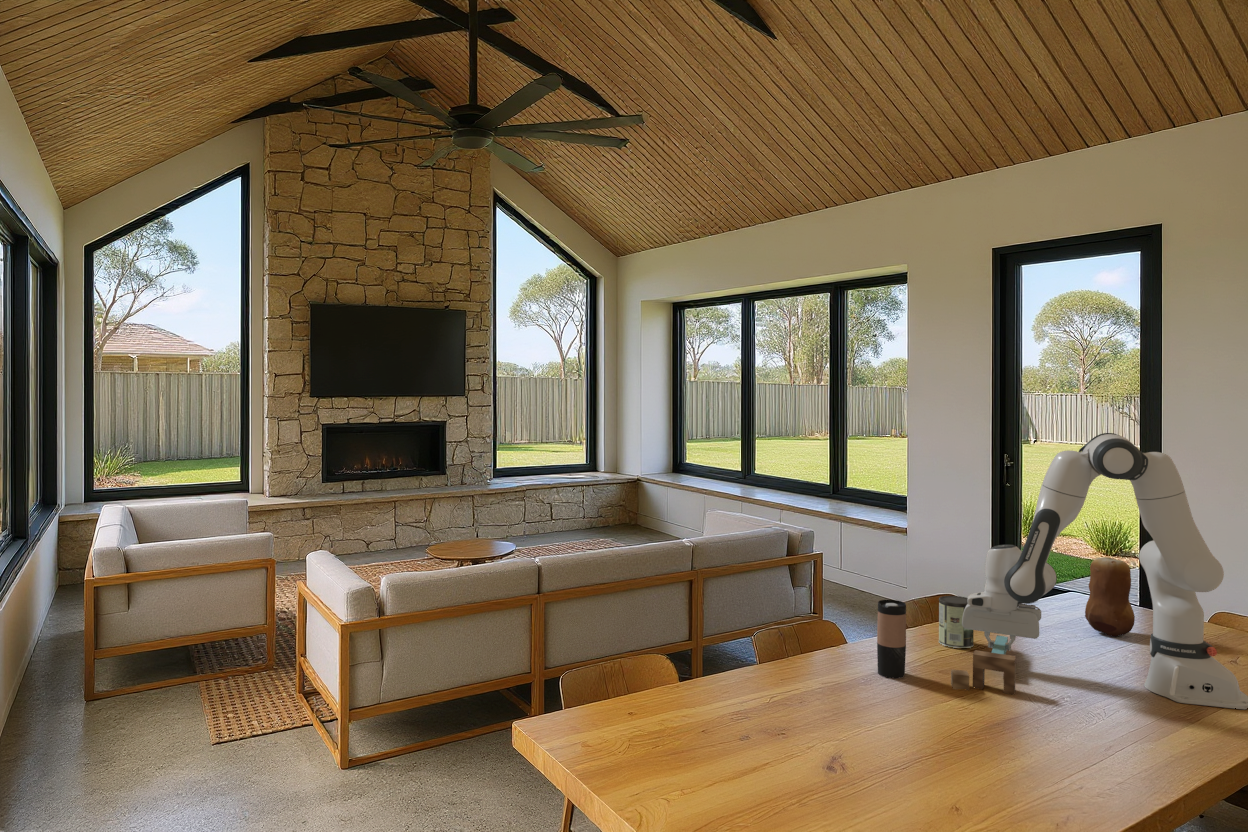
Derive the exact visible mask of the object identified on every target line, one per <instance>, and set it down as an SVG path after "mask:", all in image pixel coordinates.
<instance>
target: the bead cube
mask: <svg viewBox="0 0 1248 832" xmlns="http://www.w3.org/2000/svg"><path fill="white" fill-rule="evenodd" d="M969 674H970V673H969V671H968V670H963V669H950V685H951V687H953V688H952V690H958V689H966V690H965V691H970V675H969Z"/></svg>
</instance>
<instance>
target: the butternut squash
mask: <svg viewBox="0 0 1248 832" xmlns="http://www.w3.org/2000/svg"><path fill="white" fill-rule="evenodd" d="M1089 569H1090V570H1089V571H1090V572H1089V573H1090V577H1089V583H1088V589H1089V597H1088V600H1087V602H1086V604H1085V609H1084V614H1085V615H1084V617H1085V619H1086V620H1087V622H1088V624H1089V625H1090V627H1091V628H1092V629H1093V630H1095V631H1097V632H1100V633H1103V634H1104V635H1106V636H1107V637H1114V638H1117V637H1119V636H1125V635H1126V634H1128V633H1130V632H1131V631H1132V630H1133V627H1134V626H1135V618H1136V617H1135V613H1134V610H1133V606H1132V605H1131V601H1130V593H1131V589H1132V575H1131V574H1132V572H1131V568H1130V565H1129V564H1128V563H1127V562H1125V561H1123V560H1119V559H1117V558H1112V557H1109V556H1108V557H1106V556H1103V557H1096V558H1095V559H1093V560H1092V561H1091V564H1090V566H1089Z"/></svg>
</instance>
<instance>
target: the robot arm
mask: <svg viewBox="0 0 1248 832" xmlns="http://www.w3.org/2000/svg"><path fill="white" fill-rule="evenodd" d="M1100 476H1104V478H1109V479H1113V480H1122V481H1124V480H1125V481H1130V484H1131V486H1132V488H1133V491H1134V496H1135V500H1136V505H1137V508H1138V512H1139V514H1140V518H1141V519H1140V520H1141V522H1142V525H1143V527H1144V529H1145V530H1146V531H1147V532H1148V534H1149V535H1150V536H1151V538H1152V540H1149V541H1148V542H1147V543H1145V544H1144V545H1143V546H1142V547H1141V548H1140V551H1139V554H1138V560H1139V563H1140V565H1141V567H1142V569H1143V570H1144V572H1145V575H1146V580H1147V584H1148V587H1149V592H1150V593H1149V594H1150V599H1151V603H1152V633H1151V634H1150V639H1149V654H1150V662H1149V669H1148V673H1147V676H1146V680H1145V681H1144V684H1143V686H1144V688H1146V689H1147V690H1148V691H1150V692H1152V693H1154V694H1157V695H1159V696H1161V697H1162V696H1163V697H1164V698H1168V699H1170V700H1171V701H1174V702H1176V703H1181V704H1190V705H1198V706H1209V707H1217V708H1226V709H1235V708H1236V709H1237V710H1248V709H1247V708H1248V695H1247V694H1246V693H1245V692H1243V691H1241V690H1240V686H1239V682H1238V678H1237V677H1236V675H1235V674H1234V673H1233V672H1232V671H1231V670H1230V669H1228V668H1227V667H1226V666H1225V665H1223V664H1222V663H1221V662H1220V661H1218V660H1217V659H1216V658H1215V657H1216V656H1217V655H1218V650H1217V649H1216V648H1215V647H1214V646H1213V645H1212V644H1210V643H1209V642H1208V641H1206V640H1204V632H1205V631H1204V630H1205V627H1204V625H1205V613H1204V610H1203V607H1202V606H1201V604H1200V602H1199V600H1198V596H1197V594H1196V593H1209V592H1212V591H1214V590H1216V589H1217V588H1218V587H1219V586H1220V585H1222V582H1223V580H1224V577H1225V576H1224V574H1225V573H1224V572H1225V571H1224V567H1223V565H1222V564H1221V563H1220V561H1219V560H1218V559H1217V558H1216V557H1215V556H1214V555H1213V553H1212V552H1211V550H1210V548H1209V547H1208V545H1207V543H1206V541H1205V539H1204V538H1203V536H1202V534H1201V532H1200V530H1199V528H1198V527H1197V524H1196V522H1195V520H1194V517H1193V515H1192V512H1191V508H1190V504H1189V501H1188V497H1187V494H1186V489H1185V486H1184V484H1183V481H1182V478H1181V475H1180V473H1179V471H1178V469H1177V467H1176V464H1175V462H1174V460H1173V459H1172V458H1171V457H1170V456H1169V454H1167V453H1164V452H1159V451H1149V452H1148V451H1147V452H1142V451H1141V450H1140V449H1139V448H1138V447H1137V446H1135V444H1133V442H1132V441H1130V440H1129V439H1128V438H1126V437H1125V436H1122V435H1119V434H1118V433H1112V432H1103V433H1100V434H1097V435H1096V436H1094V437H1093V438H1091V439H1090V440H1089V441H1088V442H1087V443H1086V444H1084V445H1083V446H1082V447H1080V448H1079V450H1078V451H1077V450H1070V449H1069V450H1063V451H1060V452H1058V453H1056V455H1055V456H1054V458H1053V459H1052V461H1051V462H1050V464H1049V466H1048V468H1047V471H1046V473H1045V475H1044V478H1043V481H1042V484H1041V487H1040V491H1039V494H1038V499H1037V501H1036V502H1037V503H1036V508H1035V511H1034V516H1033V520H1032V522H1031V523H1032V524H1031V527H1030V529H1029V532H1028V535H1027V537H1026V540H1025V543H1024V545H1023V547H1022V550H1021V549H1020V548H1019V547H1018V546H1016V545H1015V544H999V545H994V546H992V547H990V548H989V549H988V551H987V552H986V557H985V564H984V565H985V566H984V567H985V568H984V576H985V581H986V582H985V585H984V591H980V592H973V593H970V594H969V595H968V596H967V598H968V599H967V602H968V604H967V605H966V607H965V609H964V612H963V618H962V626H963V627H964V628H965V629H971V630H974V631H979V632H984V634H983V636H984V637H985V639H986V640H987V648H991V649H993V646H994V643H995V640H993V639H991V636H990V635H991V633H992V634H999V635H1004V636H1005V635H1006V636H1009V639H1010V640H1009V641H1008V643H1005V650H1007V651H1011V650H1012V645H1013V643H1014V642H1015V641H1016V638H1017V637H1021V638H1027V639H1032V640H1035V639H1036V640H1037V639H1038V638H1039V637H1040V621H1041V620H1042V610H1041V608H1040V607H1038V606H1036V605H1035V604H1033V603H1036V602H1038V601H1039V600H1040V599H1042V597H1043V596H1044V595H1046V594H1047V593H1049V592H1050V591H1051V590H1053V589H1054V587H1055V586H1056V583H1057V579H1058V577H1057V573H1056V571H1055V569H1054V567H1053V566H1052V565H1051V564H1050V563H1049V562H1047V561H1048V559H1049V556H1050V554H1051V550H1052V548H1053V545H1054V543H1055V541H1056V539H1057V538H1058V536H1059V535H1060V534H1061V533H1062V532H1063V531H1064V530H1065V529H1066V528H1067V527H1069V525H1071V524H1072V523H1073V522H1074V521H1075V520H1076V519H1077V517H1078V515H1079V514H1080V512H1081V511H1082V508H1083V507H1084V504H1085V501H1086V499H1087V496H1088V493H1089V488H1090V486H1091V485H1092V482H1093V481H1095V479H1096V478H1097V477H1100Z"/></svg>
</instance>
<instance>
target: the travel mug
mask: <svg viewBox="0 0 1248 832" xmlns="http://www.w3.org/2000/svg"><path fill="white" fill-rule="evenodd" d="M876 625H877V632H876V640H877V641H876V649H877V650H876V651H877V652H876V653H877V655H876V656H877V674H878V675H879V676H881V677H884V678H887V679H901V678H902V679H903V678H904V677H905V672H906V654H907V653H906V652H907V604H906V602H903V601H901V600H897V599H896V600H895V599H881V600H878V602H877V624H876Z"/></svg>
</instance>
